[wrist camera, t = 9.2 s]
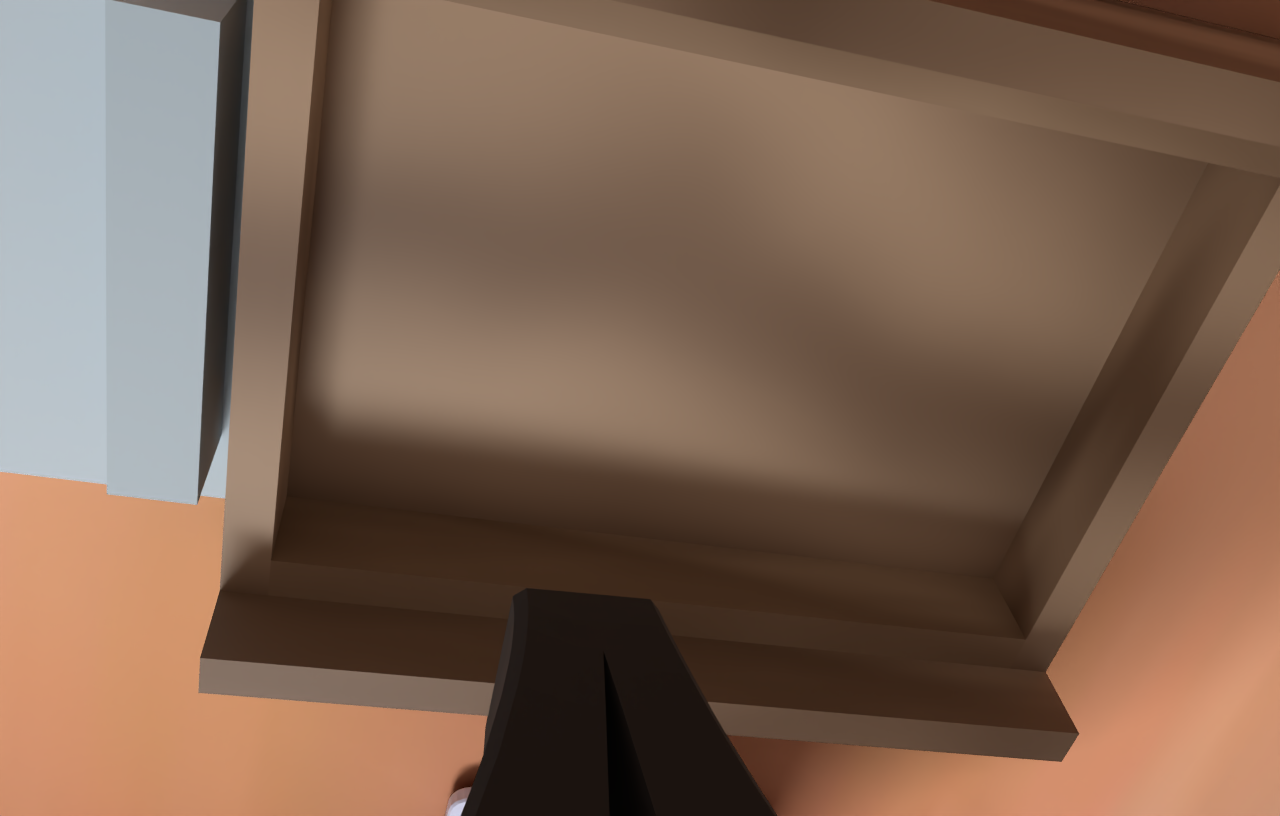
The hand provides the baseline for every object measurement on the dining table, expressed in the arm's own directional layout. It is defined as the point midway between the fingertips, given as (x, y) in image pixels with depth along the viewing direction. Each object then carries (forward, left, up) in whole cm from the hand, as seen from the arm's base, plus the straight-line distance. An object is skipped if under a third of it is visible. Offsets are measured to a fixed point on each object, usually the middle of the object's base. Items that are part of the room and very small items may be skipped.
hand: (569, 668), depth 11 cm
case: (-1, -4, -10) cm, 11 cm away
